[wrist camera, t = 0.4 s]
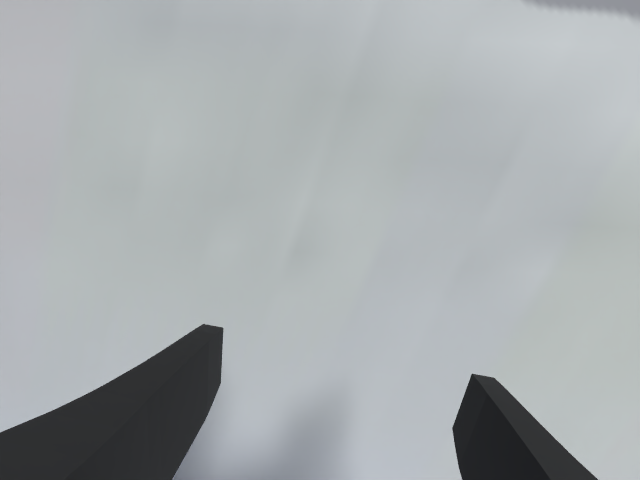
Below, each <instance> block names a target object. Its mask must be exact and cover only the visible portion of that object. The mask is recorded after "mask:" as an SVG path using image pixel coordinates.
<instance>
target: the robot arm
mask: <svg viewBox="0 0 640 480" xmlns="http://www.w3.org/2000/svg"><path fill="white" fill-rule="evenodd" d="M222 344H223V328H222V327H216V326H211V325H205V324H203V325H201V326H199V327H198V328H196V329H195V330H193V331H192V332H190V333H189V334H187V335H185V336H184V337H182V338H181V339H179V340H178V341H176V342H175V343H173V344H172V345H170V346H169V347H167V348H166V349H164V350H162V351H161V352H159V353H158V354H156V355H154V356H153V357H151V358H150V359H148V360H147V361H145V362H143V363H142V364H140V365H138V366H137V367H135V368H133V369H131V370H130V371H128V372H126V373H124V374H123V375H121V376H119V377H117V378H116V379H114V380H112V381H110V382H109V383H107V384H105V385H103V386H101V387H99V388H98V389H96V390H94V391H92V392H90V393H88V394H86V395H84V396H82V397H80V398H78V399H76V400H74V401H72V402H70V403H67V404H65V405H63V406H61V407H59V408H57V409H55V410H53V411H50V412H48V413H46V414H44V415H41V416H39V417H36V418H34V419H32V420H29V421H27V422H25V423H22V424H20V425H17V426H15V427H13V428H10V429H8V430H5V431H3V432H1V433H0V480H172V478H173V477H174V475H175V473H176V471H177V469H178V468H179V466H180V464H181V462H182V461H183V459H184V457H185V455H186V453H187V452H188V450H189V448H190V446H191V444H192V443H193V441H194V439H195V437H196V435H197V434H198V432H199V430H200V428H201V426H202V425H203V423H204V421H205V419H206V417H207V415H208V413H209V410H210V408H211V406H212V403H213V401H214V398H215V396H216V393H217V391H218V388H219V386H220V384H221V365H222ZM452 429H453V435H454V442H455V448H456V454H457V459H458V465H459V469H460V473H461V477H462V480H598V479H597V478H596V477H595V476H593V475H592V474H591V473H590V472H589V471H588V470H587V469H586V468H585V467H584V466H583V465H582V464H580V463H579V462H578V461H577V460H576V459H575V458H574V457H573V456H572V455H571V454H570V453H569V452H568V451H567V450H566V449H565V448H564V447H563V446H562V445H561V444H560V443H559V442H558V441H557V440H556V439H555V438H554V437H553V436H552V435H551V434H550V433H549V432H548V431H547V430H546V429H545V428H544V427H543V426H542V425H541V424H540V423H539V422H538V421H537V420H536V419H535V418H534V417H533V416H532V415H531V414H530V413H529V412H528V411H527V410H526V409H525V408H524V407H523V406H522V405H521V404H520V403H519V402H518V401H517V400H516V399H515V398H514V397H513V396H512V395H511V394H510V393H509V392H508V391H507V390H506V389H505V388H504V387H503V386H502V385H501V384H500V383H499V382H498V381H497V380H496V379H495V378H492V377H487V376H481V375H476V374H472V375H471V378H470V381H469V383H468V386H467V389H466V392H465V395H464V397H463V400H462V403H461V406H460V409H459V411H458V414H457V417H456V420H455V423H454V425H453V428H452Z"/></svg>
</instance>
